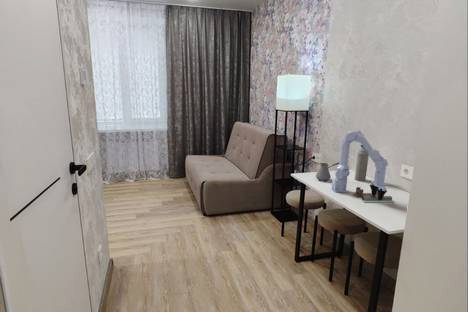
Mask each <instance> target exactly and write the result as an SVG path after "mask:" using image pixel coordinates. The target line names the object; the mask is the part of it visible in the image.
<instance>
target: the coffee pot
mask: <svg viewBox="0 0 468 312" xmlns="http://www.w3.org/2000/svg"><path fill="white" fill-rule="evenodd" d="M319 164H320V167H319V169H318V170H317V172H316V174H315V177H316V179H317V180H318V181H321V182H327V181H329V180H330V179H331V173H330V171H329V168H331V167H333V166H337V165H339V164H340V161H339V162H336V163H333V164H332V165H330V164H329V163H326V162H320V163H319Z"/></svg>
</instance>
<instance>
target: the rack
mask: <svg viewBox="0 0 468 312" xmlns="http://www.w3.org/2000/svg"><path fill="white" fill-rule="evenodd" d="M378 189H380V188H378ZM352 195H353V196H354V197H355V198H362V196H372V192H364V189H362V188H361V186H357V187H356V188H355V192H353V193H352ZM376 196H378V191H377V192H376Z"/></svg>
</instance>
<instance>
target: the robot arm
mask: <svg viewBox="0 0 468 312" xmlns="http://www.w3.org/2000/svg"><path fill="white" fill-rule="evenodd" d="M352 142H355V143H356V142H357V143H360V145H363V146H364V148H365V149H366V150H367V151H368V155H369V157H368V158H370V159H371V160H372V162H373V163H374V167H375V173H374V180H370V181H371V182H370V184H369V187H370V190H371V192H370V193H372V196H376V192H377V191H378V200H382V198H383V196H386V193H387V192H388V190H387V187H386V184H385V177H386V170H387V166H388V164H389V162H388V159H386V158H384V157H383V156H382V155H381V154H380V151H379V150H377V149H375V148H373V146H371V144H370V142H369V141H368V140H367V138H366V137H365V135H364V133H362V131H361V130H360V129H355V130H350V131H347V132H346V133H345V135H344V137H342V140H341V146H340V147H341V148H340V157H339V162H340V163H339V164H338V166H337V168H336V171H335V173H334V175H335V178H332V179H331V180H332V181H331V187H330V189H331V190H332V191H333V192H334V193H349V191H348V190H347V187H348V186H347V185H348V177H349V175H350V172H351V171H350V169H349V168H350V167H349V165H348V163H349V156H350V155H349V154H350V147H351V144H352ZM378 188H379V189H378Z"/></svg>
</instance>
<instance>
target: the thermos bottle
mask: <svg viewBox="0 0 468 312" xmlns="http://www.w3.org/2000/svg"><path fill="white" fill-rule="evenodd" d="M369 158H370V157H369V155H368V151H367V150H366V149H365V148H364V146H363V145H362V144H360V148H359V150H358V152H357V157H356V165H355V173H354V180H355V181H357V182H365V181H366V178H367V171H368V164H369Z"/></svg>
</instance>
